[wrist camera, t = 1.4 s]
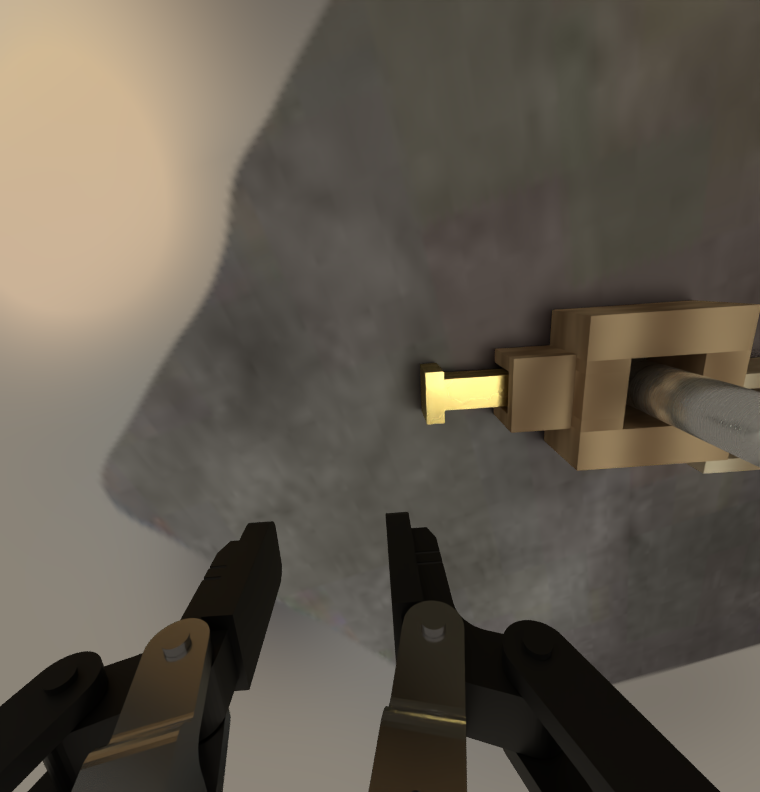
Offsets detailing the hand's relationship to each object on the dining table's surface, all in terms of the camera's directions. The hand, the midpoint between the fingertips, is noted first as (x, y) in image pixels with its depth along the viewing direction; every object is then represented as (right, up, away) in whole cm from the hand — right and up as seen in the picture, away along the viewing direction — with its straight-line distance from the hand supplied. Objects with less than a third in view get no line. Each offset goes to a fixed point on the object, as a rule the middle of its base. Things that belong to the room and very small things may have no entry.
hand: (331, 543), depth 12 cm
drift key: (+9, +6, +16) cm, 19 cm away
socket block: (+17, +6, +17) cm, 25 cm away
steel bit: (+19, +6, +17) cm, 26 cm away
